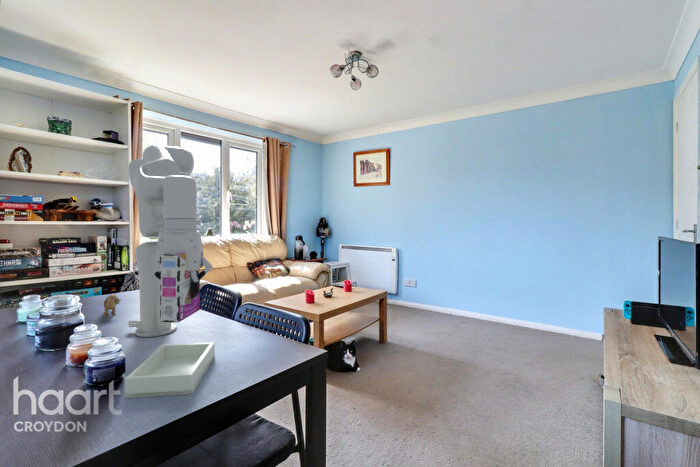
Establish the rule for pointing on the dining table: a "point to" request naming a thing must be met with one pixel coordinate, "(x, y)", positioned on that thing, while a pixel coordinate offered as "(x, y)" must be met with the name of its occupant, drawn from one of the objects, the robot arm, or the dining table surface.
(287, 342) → the dining table surface
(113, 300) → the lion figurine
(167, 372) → the tray
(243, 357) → the dining table surface
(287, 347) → the dining table surface
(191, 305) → the candy bar box
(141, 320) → the robot arm
